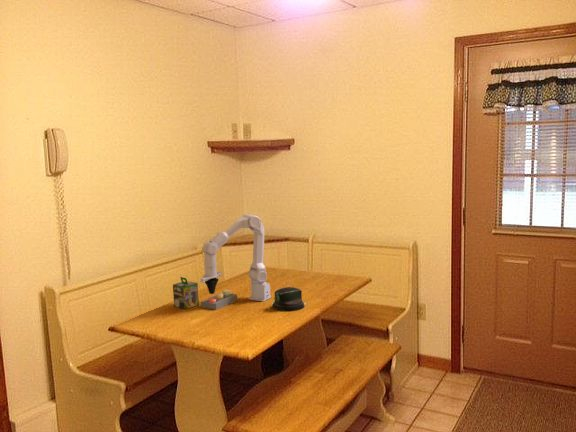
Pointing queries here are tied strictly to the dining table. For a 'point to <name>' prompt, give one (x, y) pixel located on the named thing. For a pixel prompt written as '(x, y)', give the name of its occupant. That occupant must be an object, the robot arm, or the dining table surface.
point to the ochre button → (219, 296)
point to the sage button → (226, 293)
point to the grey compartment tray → (219, 302)
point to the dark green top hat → (288, 299)
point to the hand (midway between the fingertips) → (211, 293)
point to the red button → (212, 300)
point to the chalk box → (185, 294)
